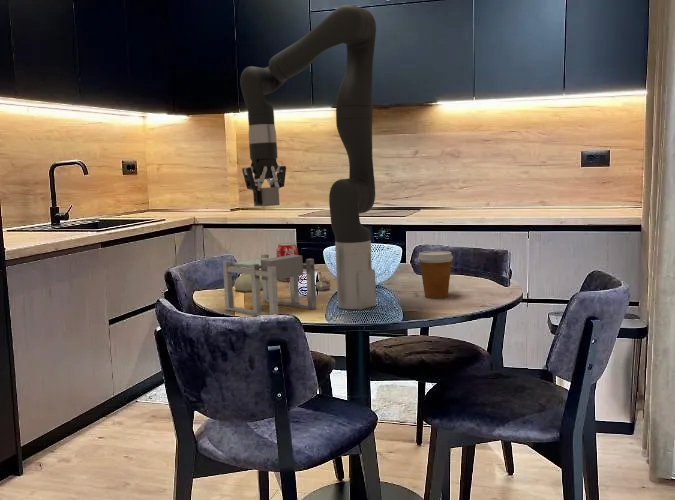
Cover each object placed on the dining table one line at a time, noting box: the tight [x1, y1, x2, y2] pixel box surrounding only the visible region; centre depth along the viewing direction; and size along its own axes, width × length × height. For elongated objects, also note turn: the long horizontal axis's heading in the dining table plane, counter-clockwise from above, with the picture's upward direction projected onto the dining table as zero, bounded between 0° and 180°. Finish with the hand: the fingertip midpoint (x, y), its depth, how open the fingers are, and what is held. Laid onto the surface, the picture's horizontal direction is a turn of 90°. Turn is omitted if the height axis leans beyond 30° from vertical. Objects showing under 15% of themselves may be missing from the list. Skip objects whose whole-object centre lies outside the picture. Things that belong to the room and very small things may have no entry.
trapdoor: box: [232, 254, 304, 281], centre depth 176 cm, size 15×11×5 cm
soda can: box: [276, 242, 299, 282], centre depth 221 cm, size 7×7×12 cm
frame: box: [222, 253, 317, 316], centre depth 177 cm, size 20×14×13 cm
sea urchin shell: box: [234, 274, 263, 293], centre depth 207 cm, size 9×8×8 cm
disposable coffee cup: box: [417, 250, 454, 299], centre depth 185 cm, size 10×10×12 cm
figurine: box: [315, 271, 331, 292], centre depth 202 cm, size 5×4×6 cm
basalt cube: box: [252, 186, 281, 207], centre depth 187 cm, size 5×5×5 cm
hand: (266, 203), depth 187 cm, fingers closed on basalt cube, 5 cm apart
